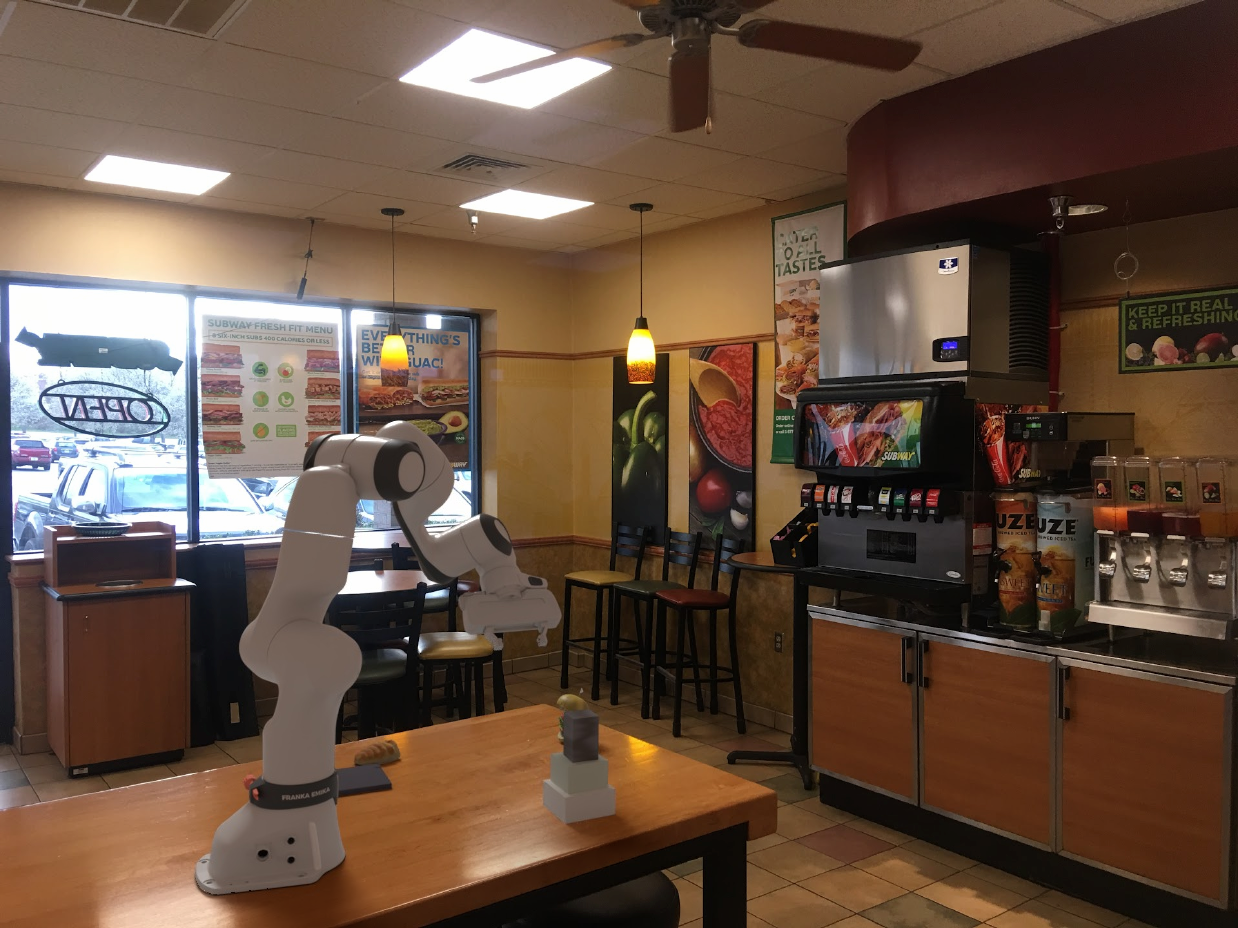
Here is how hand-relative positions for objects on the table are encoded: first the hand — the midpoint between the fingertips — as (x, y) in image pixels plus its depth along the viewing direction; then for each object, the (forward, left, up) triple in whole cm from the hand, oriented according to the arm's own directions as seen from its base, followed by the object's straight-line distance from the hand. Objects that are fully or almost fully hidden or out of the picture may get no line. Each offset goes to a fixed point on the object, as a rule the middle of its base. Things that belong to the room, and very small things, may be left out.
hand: (521, 646), depth 194 cm
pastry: (-22, +25, -27) cm, 43 cm away
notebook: (-34, +14, -28) cm, 46 cm away
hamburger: (+20, +18, -27) cm, 38 cm away
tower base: (+4, -19, -27) cm, 33 cm away
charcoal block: (+4, -19, -17) cm, 26 cm away
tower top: (+4, -18, -22) cm, 29 cm away
